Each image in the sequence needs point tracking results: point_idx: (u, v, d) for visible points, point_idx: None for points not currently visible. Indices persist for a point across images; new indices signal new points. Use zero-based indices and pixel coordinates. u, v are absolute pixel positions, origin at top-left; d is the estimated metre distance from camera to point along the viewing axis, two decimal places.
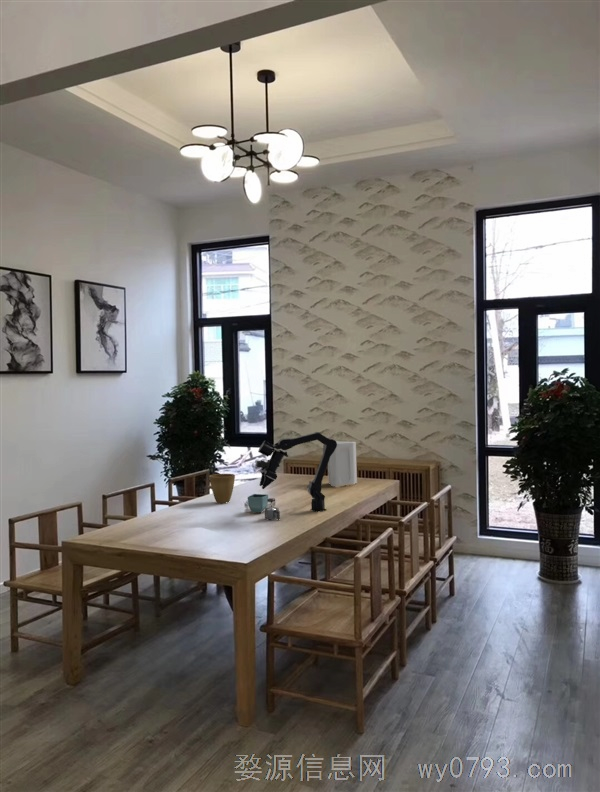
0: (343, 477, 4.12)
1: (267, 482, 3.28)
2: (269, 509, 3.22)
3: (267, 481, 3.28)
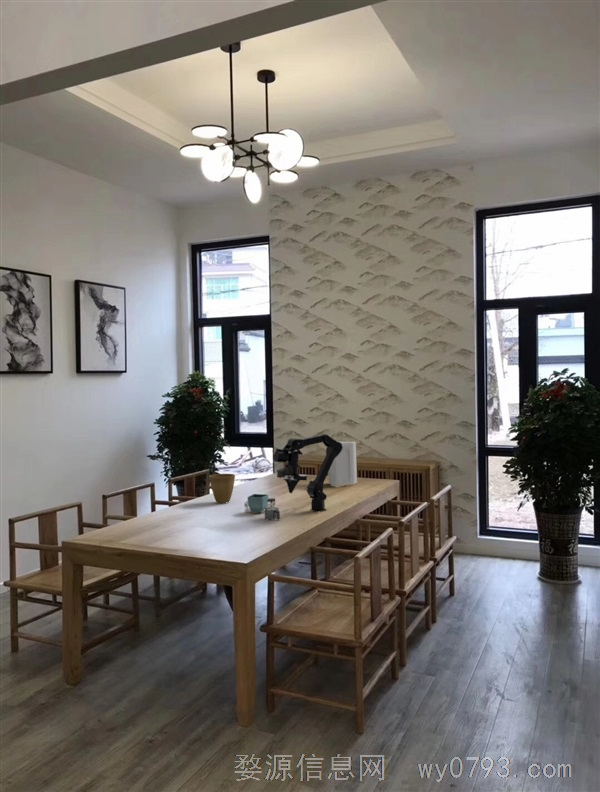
0: (343, 477, 4.12)
1: (293, 485, 3.29)
2: (269, 509, 3.22)
3: (293, 484, 3.29)
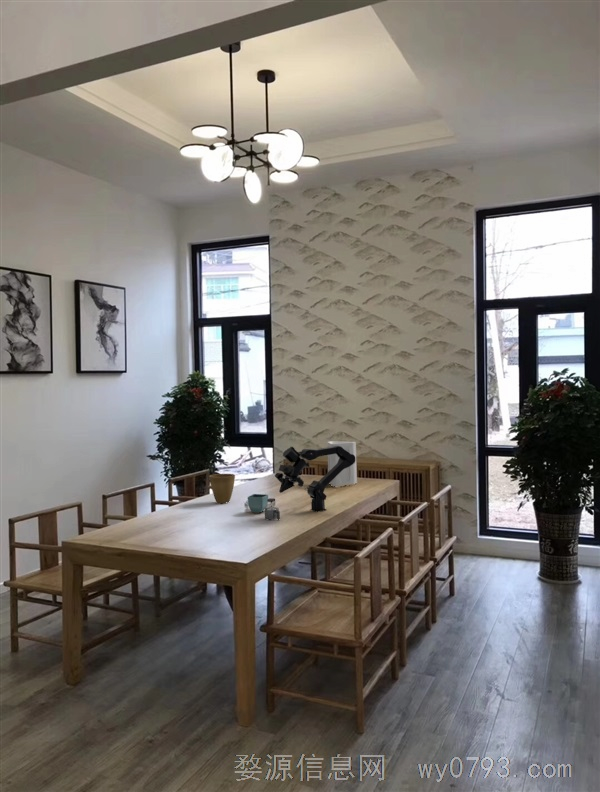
0: (343, 477, 4.12)
1: (286, 486, 3.27)
2: (269, 509, 3.22)
3: (286, 485, 3.27)
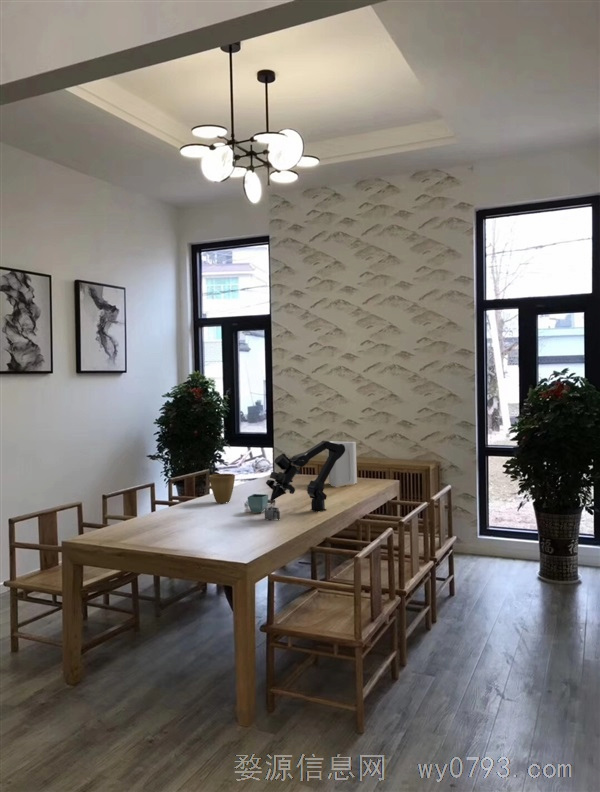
0: (343, 477, 4.12)
1: (277, 494, 3.23)
2: None
3: (278, 493, 3.24)
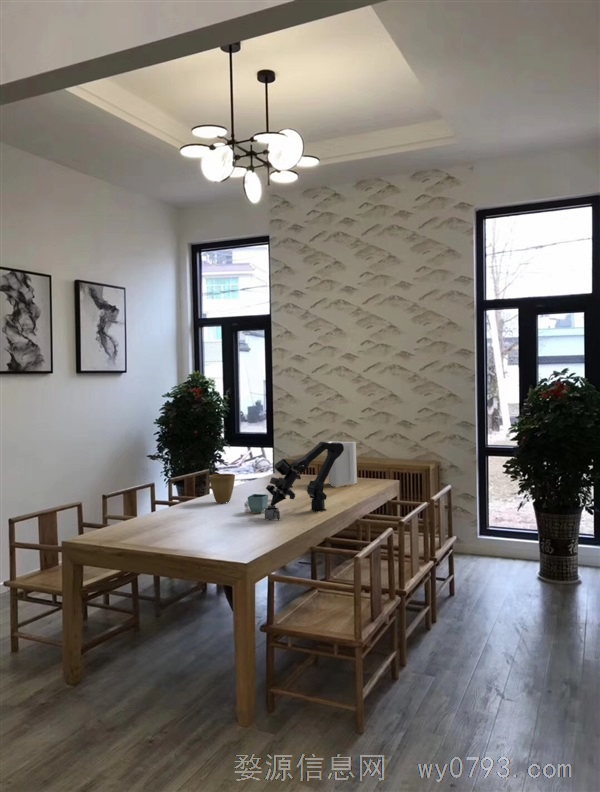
0: (343, 477, 4.12)
1: (278, 499, 3.24)
2: None
3: (278, 498, 3.24)
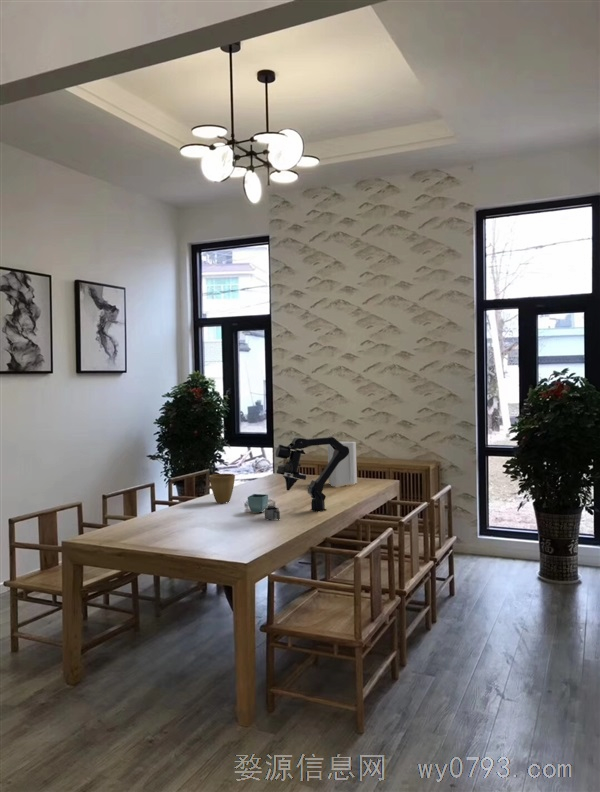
0: (343, 477, 4.12)
1: (291, 483, 3.32)
2: None
3: (291, 482, 3.32)
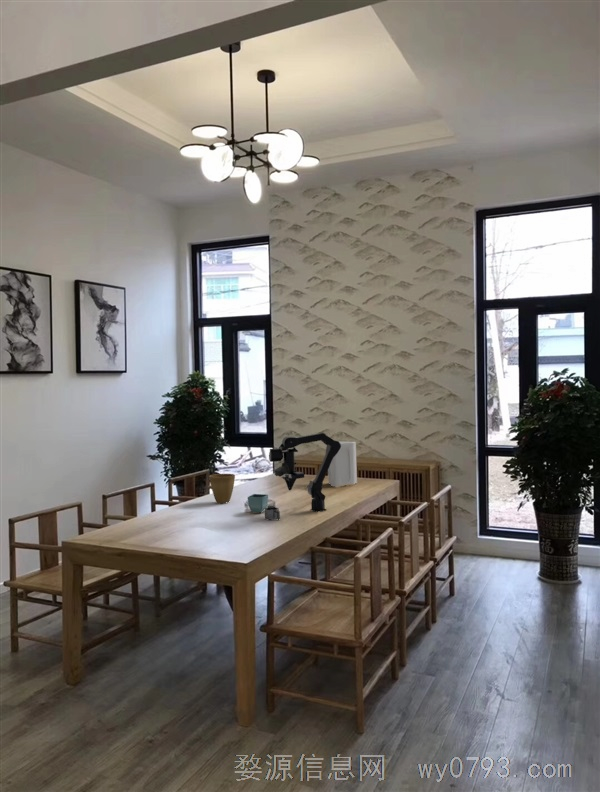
0: (343, 477, 4.12)
1: (292, 482, 3.34)
2: None
3: (291, 481, 3.34)
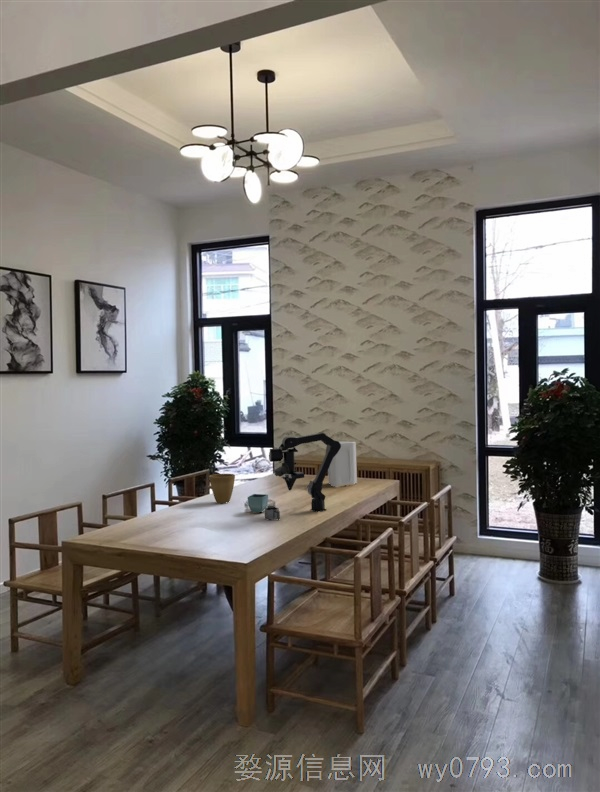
0: (343, 477, 4.12)
1: (292, 482, 3.34)
2: None
3: (291, 481, 3.34)
